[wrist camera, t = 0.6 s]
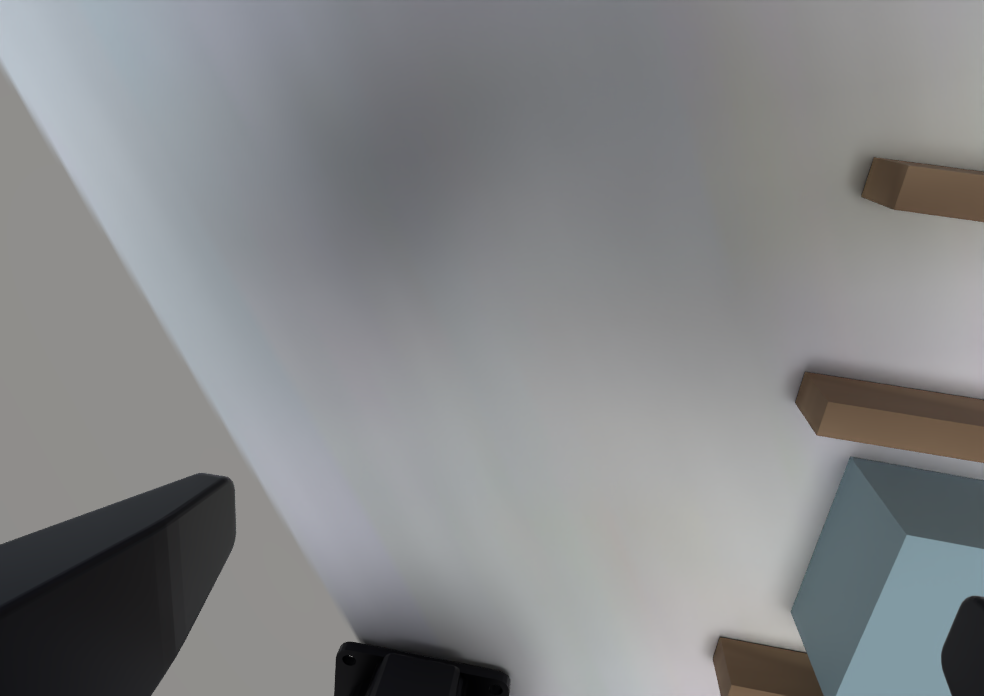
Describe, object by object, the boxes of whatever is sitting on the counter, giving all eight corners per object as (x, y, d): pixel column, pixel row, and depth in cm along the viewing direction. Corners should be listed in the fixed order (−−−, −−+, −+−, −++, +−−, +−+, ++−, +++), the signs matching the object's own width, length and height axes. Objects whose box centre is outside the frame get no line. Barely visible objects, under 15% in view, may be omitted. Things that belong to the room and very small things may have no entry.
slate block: (974, 643, 22) (1053, 755, 18) (789, 607, 23) (829, 710, 19) (1055, 490, 20) (1163, 582, 16) (847, 453, 20) (906, 534, 17)
